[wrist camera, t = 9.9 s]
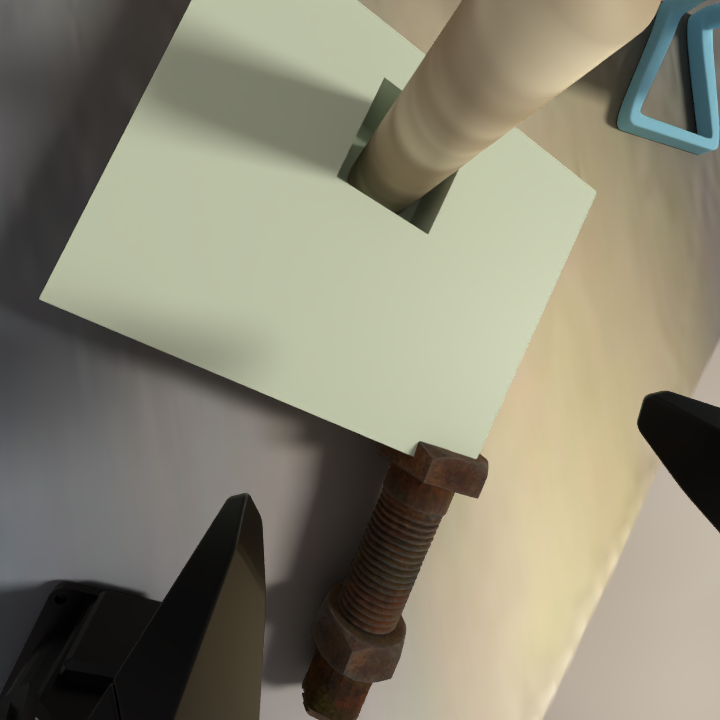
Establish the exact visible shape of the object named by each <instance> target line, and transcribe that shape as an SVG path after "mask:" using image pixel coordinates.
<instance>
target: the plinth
mask: <svg viewBox="0 0 720 720" xmlns="http://www.w3.org/2000/svg"><path fill="white" fill-rule="evenodd" d="M425 56H426V55H425V54H424V53H423V52H421V51H420V50H419V49H418V48H416V47H415V46H414V45H413V44H411V43H410V42H409V41H408V40H406V39H405V38H404V37H403V36H401V35H400V34H399V33H398V32H396V31H395V30H394V29H393V28H391V27H390V26H389V25H388V24H386V23H385V22H384V21H383V20H381V19H380V18H379V17H378V16H376V15H375V14H374V13H373V12H371V11H370V10H369V9H368V8H366V7H365V6H364V5H363V4H361V3H360V2H359V1H358V0H191V2H190V4H189V6H188V8H187V10H186V12H185V14H184V16H183V18H182V20H181V22H180V24H179V26H178V28H177V30H176V32H175V34H174V36H173V38H172V40H171V42H170V43H169V45H168V47H167V49H166V51H165V53H164V55H163V57H162V59H161V61H160V63H159V65H158V67H157V69H156V71H155V73H154V75H153V77H152V79H151V81H150V83H149V85H148V86H147V88H146V90H145V92H144V94H143V96H142V98H141V100H140V102H139V104H138V106H137V108H136V110H135V112H134V114H133V116H132V118H131V120H130V122H129V124H128V126H127V128H126V130H125V131H124V133H123V135H122V137H121V139H120V141H119V143H118V145H117V147H116V149H115V151H114V153H113V155H112V157H111V159H110V161H109V163H108V165H107V167H106V169H105V171H104V173H103V174H102V176H101V178H100V180H99V182H98V184H97V186H96V188H95V190H94V192H93V194H92V196H91V198H90V200H89V202H88V204H87V206H86V208H85V210H84V212H83V214H82V216H81V218H80V219H79V221H78V223H77V225H76V227H75V229H74V231H73V233H72V235H71V237H70V239H69V241H68V243H67V245H66V247H65V249H64V251H63V253H62V255H61V257H60V259H59V261H58V263H57V264H56V266H55V268H54V270H53V272H52V274H51V276H50V278H49V280H48V282H47V284H46V286H45V288H44V290H43V292H42V294H41V296H40V298H39V300H42V301H44V302H47V303H49V304H51V305H54V306H56V307H58V308H61V309H63V310H66V311H68V312H70V313H73V314H75V315H77V316H80V317H82V318H85V319H87V320H89V321H92V322H94V323H97V324H99V325H101V326H104V327H106V328H108V329H111V330H113V331H116V332H118V333H120V334H123V335H125V336H127V337H130V338H132V339H135V340H137V341H139V342H142V343H144V344H147V345H149V346H151V347H154V348H156V349H158V350H161V351H163V352H166V353H168V354H170V355H173V356H175V357H177V358H180V359H182V360H185V361H187V362H189V363H192V364H194V365H197V366H199V367H201V368H204V369H206V370H208V371H211V372H213V373H216V374H218V375H220V376H223V377H225V378H227V379H230V380H232V381H235V382H237V383H239V384H242V385H244V386H246V387H249V388H251V389H254V390H256V391H258V392H261V393H263V394H266V395H268V396H270V397H273V398H275V399H277V400H280V401H282V402H285V403H287V404H289V405H292V406H294V407H296V408H299V409H301V410H304V411H306V412H308V413H311V414H313V415H316V416H318V417H320V418H323V419H325V420H327V421H330V422H332V423H335V424H337V425H339V426H342V427H344V428H346V429H349V430H351V431H354V432H356V433H358V434H361V435H363V436H366V437H368V438H370V439H373V440H375V441H377V442H380V443H382V444H385V445H387V446H389V447H392V448H394V449H396V450H399V451H401V452H404V453H406V454H408V455H411V456H413V457H414V454H415V451H416V448H417V445H418V442H419V441H422V442H425V443H428V444H432V445H435V446H438V447H441V448H444V449H447V450H450V451H452V452H456V453H459V454H462V455H465V456H468V457H471V458H474V459H477V458H478V455H479V453H480V451H481V449H482V446H483V444H484V442H485V440H486V438H487V435H488V433H489V431H490V429H491V426H492V424H493V422H494V420H495V418H496V415H497V413H498V411H499V409H500V406H501V404H502V402H503V400H504V398H505V395H506V393H507V391H508V389H509V386H510V384H511V382H512V380H513V378H514V375H515V373H516V371H517V369H518V366H519V364H520V362H521V360H522V358H523V355H524V353H525V351H526V349H527V346H528V344H529V342H530V340H531V338H532V335H533V333H534V331H535V329H536V326H537V324H538V322H539V320H540V318H541V315H542V313H543V311H544V309H545V306H546V304H547V302H548V300H549V298H550V295H551V293H552V291H553V289H554V286H555V284H556V282H557V280H558V278H559V275H560V273H561V271H562V269H563V266H564V264H565V262H566V260H567V258H568V255H569V253H570V251H571V249H572V246H573V244H574V242H575V240H576V238H577V235H578V233H579V231H580V229H581V226H582V224H583V222H584V220H585V218H586V215H587V213H588V211H589V209H590V206H591V204H592V202H593V200H594V198H595V195H596V193H597V192H596V191H595V190H594V189H593V188H591V187H590V186H589V185H588V184H586V183H585V182H584V181H583V180H581V179H580V178H579V177H578V176H576V175H575V174H574V173H573V172H571V171H570V170H569V169H568V168H566V167H565V166H564V165H563V164H561V163H560V162H559V161H558V160H556V159H555V158H554V157H553V156H551V155H550V154H549V153H548V152H546V151H545V150H544V149H543V148H541V147H540V146H539V145H538V144H536V143H535V142H534V141H533V140H531V139H530V138H529V137H528V136H526V135H525V134H524V133H523V132H521V131H520V130H519V129H518V128H516V127H514V128H513V129H512V130H510V131H509V132H508V133H506V134H505V135H504V136H502V137H501V138H500V139H498V140H497V141H496V142H494V143H493V144H492V145H490V146H489V147H488V148H486V149H485V150H484V151H482V152H481V153H480V154H478V155H477V156H476V157H474V158H473V159H472V160H470V161H469V162H467V163H466V164H465V165H463V166H462V167H461V168H459V169H458V170H457V171H455V172H454V173H453V174H451V175H450V176H449V177H447V178H446V179H445V180H443V181H442V182H441V183H439V184H438V185H437V186H435V187H434V188H433V189H431V190H430V191H429V192H427V193H426V194H425V195H423V196H422V197H421V198H419V199H418V200H417V201H415V202H414V203H413V204H411V205H410V206H409V207H407V208H406V209H405V210H403V211H402V212H401V213H399V214H398V215H396V214H395V213H393V212H392V211H390V210H389V209H387V208H385V207H384V206H382V205H381V204H379V203H378V202H376V201H374V200H373V199H371V198H370V197H368V196H366V195H365V194H363V193H362V192H360V191H359V190H357V189H355V188H354V187H352V186H351V185H349V184H348V183H347V180H348V174H349V171H350V169H351V167H352V165H353V164H354V162H355V161H356V159H357V158H358V156H359V155H360V153H361V152H362V150H363V149H364V147H365V146H366V144H367V143H368V141H369V140H370V138H371V137H372V135H373V134H374V132H375V131H376V129H377V128H378V126H379V125H380V123H381V122H382V120H383V119H384V117H385V116H386V114H387V113H388V111H389V110H390V108H391V107H392V105H393V104H394V102H395V101H396V99H397V98H398V96H399V95H400V93H401V92H402V90H403V89H404V87H405V86H406V84H407V83H408V81H409V80H410V78H411V77H412V75H413V74H414V72H415V71H416V69H417V68H418V66H419V65H420V63H421V62H422V60H423V59H424V57H425Z"/></svg>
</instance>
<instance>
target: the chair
mask: <svg viewBox="0 0 720 720" xmlns="http://www.w3.org/2000/svg"><path fill="white" fill-rule="evenodd" d="M704 1H706V0H665V1H664V2H662V3H661V5H660V7H659V10H658V13H657V16H656V20H655V23H654V26H653V28H652V31H651V34H650V37H649V39H648V42H647V44H646V47H645V49H644V52H643V54H642V57H641V59H640V61H639V64H638V66H637V69H636V71H635V73H634V76H633V78H632V81H631V83H630V85H629V88H628V90H627V93H626V95H625V98H624V101H623V103H622V106H621V109H620V112H619V115H618V120H617V127H618V128H619V129H620V130H622V131H625V132H628V133H631V134H634V135H637V136H640V137H644V138H647V139H650V140H653V141H656V142H659V143H663V144H666V145H669V146H672V147H675V148H679V149H682V150H685V151H688V152H691V153H694V154H698V155H700V154H703V153H707V152H710V151H713V150H715V149H717V147H718V144H719V117H718V104H717V92H716V80H715V68H714V55H713V33H712V30H713V29H715V28H720V3H719V4H714V5H710V6H706V7H705V8H703V9H701V10H700V11H698V12H696V13H694V14H693V15H691V16H690V17H689V19H688V24H687V42H688V55H689V65H690V74H691V83H692V91H693V100H694V108H695V117H696V126H697V134H694V133H692V132H689V131H686V130H683V129H680V128H678V127H675V126H672V125H669V124H666V123H664V122H661V121H658V120H655V119H652V118H650V117H647V116H644V115H642V114H641V113H640V110H641V107H642V105H643V102H644V100H645V98H646V95H647V93H648V91H649V89H650V86H651V84H652V82H653V80H654V78H655V76H656V73H657V71H658V69H659V67H660V65H661V62H662V60H663V58H664V56H665V54H666V52H667V49H668V47H669V45H670V43H671V40H672V38H673V36H674V34H675V31H676V29H677V26H678V24H679V21H680V19H681V17H682V16H683V15H684V14H685V13H686V12H688V11H689V10H691V9H693V8H694V7H696V6H697V5H699V4H701V3H702V2H704Z"/></svg>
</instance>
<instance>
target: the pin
mask: <svg viewBox="0 0 720 720" xmlns="http://www.w3.org/2000/svg"><path fill="white" fill-rule="evenodd" d="M660 3H661V0H462V2H461V3H460V5H459V6H458V8H457V9H456V11H455V12H454V14H453V15H452V17H451V18H450V20H449V21H448V23H447V24H446V26H445V27H444V29H443V30H442V32H441V33H440V35H439V36H438V38H437V39H436V41H435V42H434V44H433V45H432V47H431V48H430V50H429V51H428V53H427V54H426V56H425V57H424V59H423V60H422V62H421V63H420V65H419V66H418V68H417V69H416V71H415V72H414V74H413V75H412V77H411V78H410V80H409V81H408V83H407V84H406V86H405V87H404V89H403V90H402V92H401V93H400V95H399V96H398V98H397V99H396V101H395V102H394V104H393V105H392V107H391V108H390V110H389V111H388V113H387V114H386V116H385V117H384V119H383V120H382V122H381V123H380V125H379V126H378V128H377V129H376V131H375V132H374V134H373V135H372V137H371V138H370V140H369V141H368V143H367V144H366V146H365V147H364V149H363V150H362V152H361V153H360V155H359V156H358V158H357V159H356V161H355V162H354V164H353V165H352V167H351V169H350V171H349V174H348V180H347V183H348V184H349V185H351V186H352V187H354V188H355V189H357V190H359V191H360V192H362V193H363V194H365V195H366V196H368V197H370V198H371V199H373V200H374V201H376V202H378V203H379V204H381V205H382V206H384V207H385V208H387V209H389V210H390V211H392V212H393V213H395V214H396V215H398V214H399V213H401V212H402V211H403V210H405V209H406V208H407V207H409V206H410V205H411V204H413V203H414V202H415V201H417V200H418V199H419V198H421V197H422V196H423V195H425V194H426V193H427V192H429V191H430V190H431V189H433V188H434V187H435V186H437V185H438V184H439V183H441V182H442V181H443V180H445V179H446V178H447V177H449V176H450V175H451V174H453V173H454V172H455V171H457V170H458V169H459V168H461V167H462V166H463V165H465V164H466V163H467V162H469V161H470V160H472V159H473V158H474V157H476V156H477V155H478V154H480V153H481V152H482V151H484V150H485V149H486V148H488V147H489V146H490V145H492V144H493V143H494V142H496V141H497V140H498V139H500V138H501V137H502V136H504V135H505V134H506V133H508V132H509V131H510V130H512V129H513V128H514V127H516V126H517V125H518V124H520V123H521V122H522V121H524V120H525V119H526V118H528V117H529V116H530V115H532V114H533V113H534V112H536V111H537V110H538V109H540V108H541V107H542V106H544V105H545V104H546V103H548V102H549V101H550V100H552V99H553V98H554V97H556V96H557V95H558V94H560V93H561V92H562V91H564V90H565V89H566V88H568V87H569V86H570V85H572V84H573V83H574V82H576V81H577V80H578V79H580V78H581V77H582V76H584V75H585V74H586V73H588V72H589V71H590V70H592V69H593V68H594V67H596V66H597V65H598V64H600V63H601V62H602V61H604V60H605V59H606V58H608V57H609V56H610V55H612V54H613V53H615V52H616V51H617V50H619V49H620V48H621V47H623V46H624V45H625V44H627V43H628V42H629V41H631V40H632V39H633V38H635V37H636V36H637V35H638V34H640V33H641V32H642V31H643V30H644V29H645V28H646V27H647V26H648V25H649V24H650V22H651V21H652V19H653V18H654V16H655V14H656V12H657V10H658V8H659V5H660Z"/></svg>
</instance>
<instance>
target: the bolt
mask: <svg viewBox="0 0 720 720" xmlns="http://www.w3.org/2000/svg"><path fill="white" fill-rule="evenodd" d="M376 452H377V453H379V454H380V455H382V456H383V457H385V458H386V459H388V460H389V461H391V464H390V467H389V469H388V472H387V474H386V477H385V479H384V482H383V488H382V492H381V494H380V498H379V499H378V501H377V504H376V506H375V510H374V511H373V513H372V516H371V518H370V522H369V523H368V525H367V528H366V530H365V534H364V535H363V537H362V540H361V542H360V546H359V548H358V551H357V552H356V554H355V558H354V559H353V563H352V564H351V568H350V570H349V571H348V575H347V576H346V579H345V581H344V582H340V583H335V584H333V585H332V586H331V588H330V590H329V591H328V593H327V595H326V597H325V599H324V601H323V603H322V605H321V607H320V609H319V611H318V614H317V616H316V619H315V621H314V624H313V626H312V629H311V633H312V635H313V638H314V640H315V643H316V645H317V650H316V652H315V655H314V657H313V660H312V662H311V664H310V667H309V670H308V672H307V673H306V676H305V679H304V681H303V684H302V688H303V689H304V690H303V691H304V693H302V696H303V700H304V701H303V704H304V707H305V710H306V712H307V713H308V714H309V715H310V716H312V717H314V718H316V719H319V720H356V719H357V718H358V716H359V713H360V710H361V708H362V705H363V704H364V701H365V698H366V696H367V694H368V691H369V689H370V687H371V685H372V682H380V681H383V680H387V679H391V678H392V676H393V673H394V671H395V668H396V666H397V664H398V661H399V659H400V656H401V652H402V648H403V644H404V639H405V635H406V624H405V622H404V620H403V618H402V615H401V614H402V611H403V609H404V607H405V604H406V602H407V599H408V597H409V594H410V592H411V590H412V587H413V585H414V582H415V580H416V578H417V575H418V573H419V571H420V567H421V566H422V562H423V561H424V558H425V555H426V554H427V552H428V549H429V547H430V545H431V542H432V541H433V536H434V535H435V534H436V529H437V528H438V527H439V524H440V521H441V519H442V517H443V516H444V515H445V514H446V512H447V510H448V508H449V505H450V503H451V501H452V498H453V496H454V493H455V492H456V493H459V494H463V495H466V496H470V497H473V498H478V497H479V495H480V493H481V490H482V488H483V485H484V483H485V481H486V478H487V475H488V461H487V459H486V458H484V457H483V456H482V455H481V454H479V455H478V458H477V459H474V458H471V457H468V456H465V455H462V454H459V453H456V452H452V451H450V450H447V449H444V448H441V447H438V446H435V445H432V444H428V443H425V442H422V441H419V442H418V445H417V448H416V451H415V454H414V457H413V456H411V455H408V454H406V453H404V452H401V451H399V450H396V449H394V448H392V447H389V446H387V445H385V444H382V443H380V442H379V443H378V446H377V448H376Z"/></svg>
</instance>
